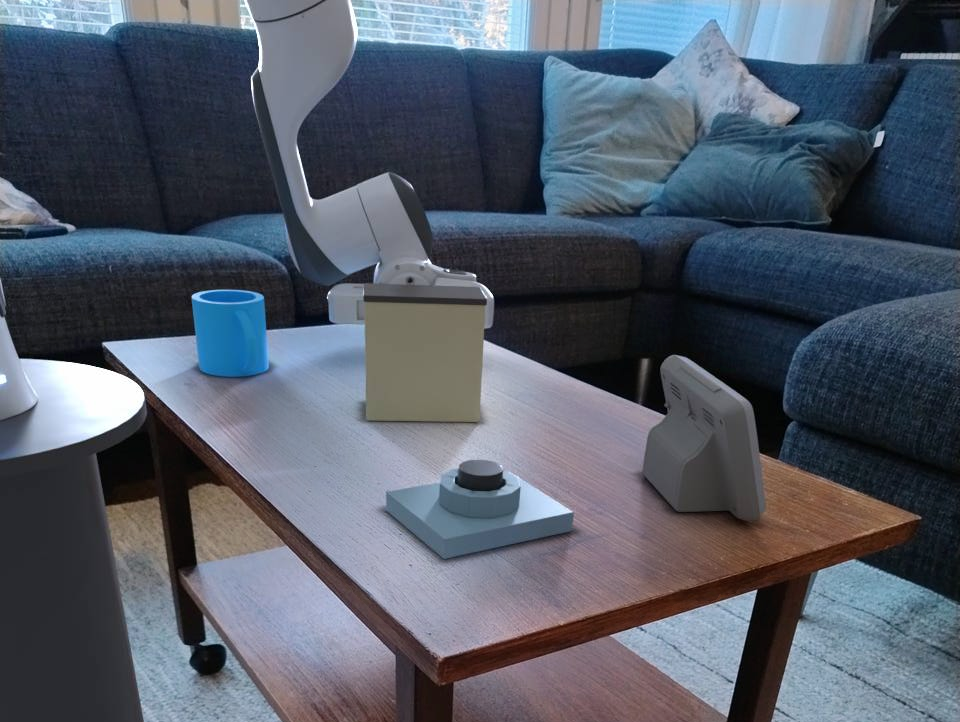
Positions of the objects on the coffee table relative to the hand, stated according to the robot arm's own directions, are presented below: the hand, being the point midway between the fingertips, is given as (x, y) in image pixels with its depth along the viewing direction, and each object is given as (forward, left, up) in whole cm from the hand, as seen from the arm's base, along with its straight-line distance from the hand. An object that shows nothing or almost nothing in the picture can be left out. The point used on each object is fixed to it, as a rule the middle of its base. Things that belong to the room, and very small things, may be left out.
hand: (414, 320), depth 105 cm
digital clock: (+8, -42, -7) cm, 43 cm away
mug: (-18, +10, -7) cm, 22 cm away
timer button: (-14, -39, -4) cm, 41 cm away
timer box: (-14, -39, -7) cm, 42 cm away
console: (-5, -12, -7) cm, 15 cm away
